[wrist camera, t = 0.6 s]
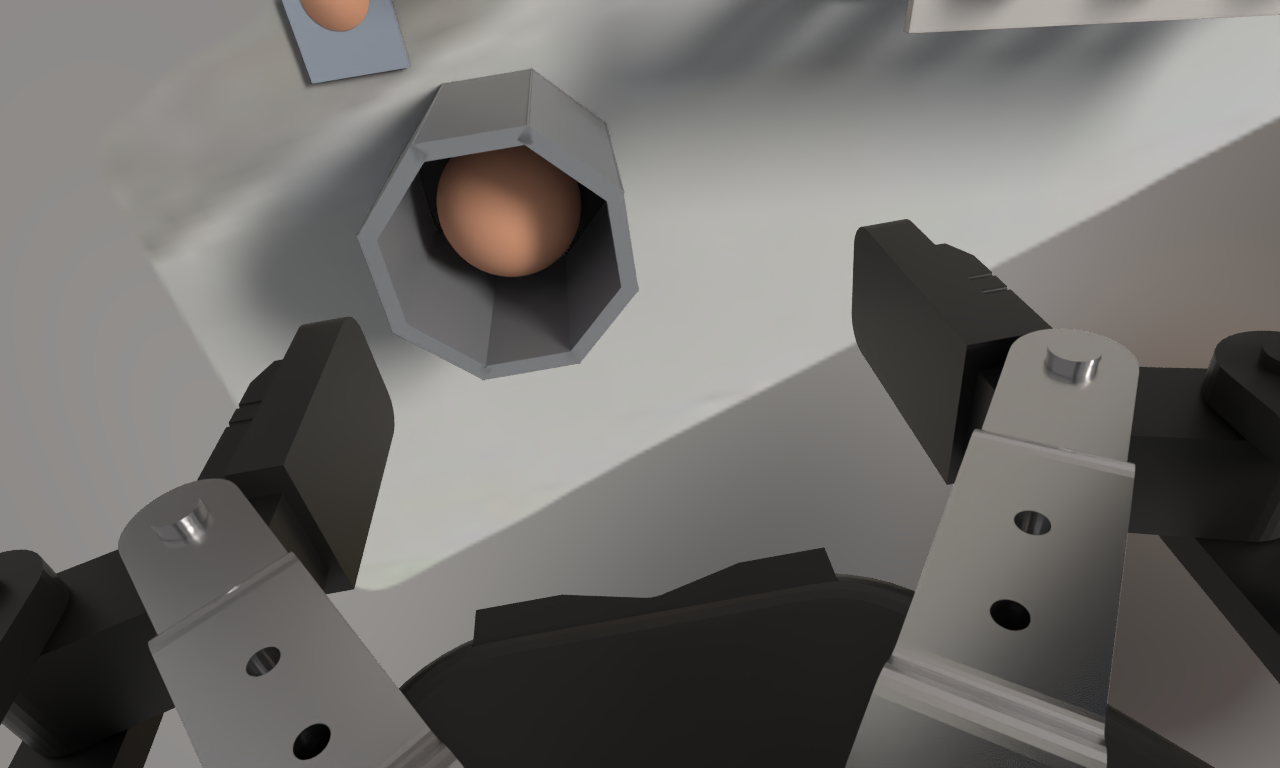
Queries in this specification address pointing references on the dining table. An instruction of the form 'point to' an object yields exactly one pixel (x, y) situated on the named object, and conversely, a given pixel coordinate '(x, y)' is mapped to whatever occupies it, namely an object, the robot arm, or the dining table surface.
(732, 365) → the dining table surface
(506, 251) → the ball in tube
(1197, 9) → the test tube rack
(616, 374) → the dining table surface
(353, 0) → the card
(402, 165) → the tube
